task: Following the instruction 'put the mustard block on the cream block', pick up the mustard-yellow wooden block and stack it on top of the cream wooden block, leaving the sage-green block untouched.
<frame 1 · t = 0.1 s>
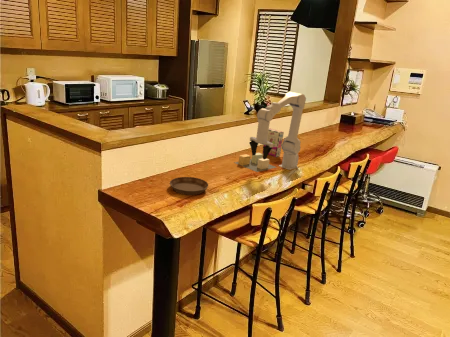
hand: (259, 156, 197), 10 cm above the counter, tool pointing down, fingers open, 7 cm apart
cream block: (262, 167, 211), resting on rubber mat
plant saucer: (188, 189, 170), on the counter
rubber mat: (255, 165, 215), on the counter
candy bar box: (271, 155, 241), on the counter
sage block: (256, 162, 221), resting on rubber mat
mustard block: (243, 163, 215), resting on rubber mat
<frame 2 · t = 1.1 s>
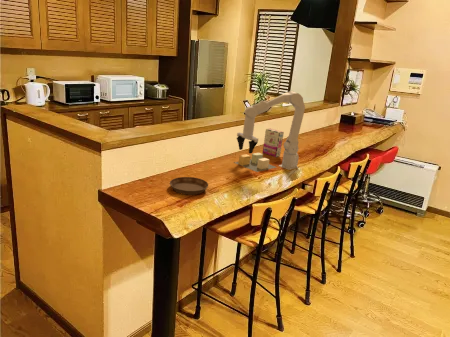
hand: (245, 151, 212), 8 cm above the counter, tool pointing down, fingers open, 7 cm apart
nothing on the counter moved.
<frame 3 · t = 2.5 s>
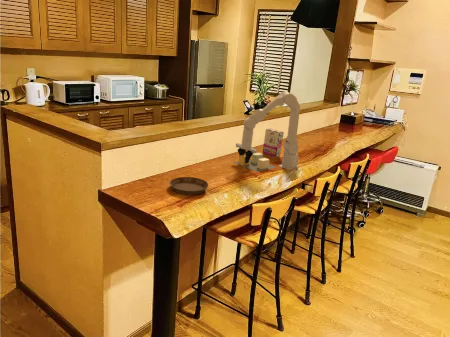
hand: (244, 161, 214), 2 cm above the counter, tool pointing down, fingers closed on mustard block, 3 cm apart
mustard block: (243, 163, 215), resting on rubber mat, touching gripper
everything else where it was.
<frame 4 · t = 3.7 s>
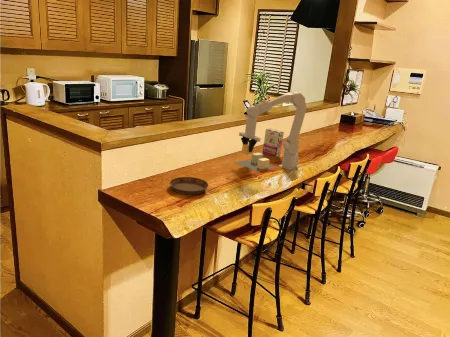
hand: (247, 150, 212), 9 cm above the counter, tool pointing down, fingers closed on mustard block, 3 cm apart
mustard block: (247, 152, 212), point 7 cm above the counter, touching gripper
everything else where it was.
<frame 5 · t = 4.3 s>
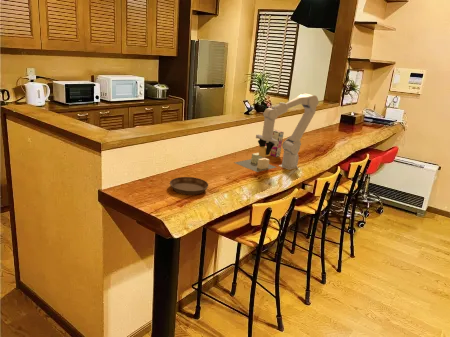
hand: (264, 153, 209), 9 cm above the counter, tool pointing down, fingers closed on mustard block, 3 cm apart
mustard block: (264, 155, 209), point 8 cm above the counter, touching gripper
everything else where it was.
when the fingers open (8 cm above the counter, at t = 5.0 s): mustard block stays where it is, resting on cream block.
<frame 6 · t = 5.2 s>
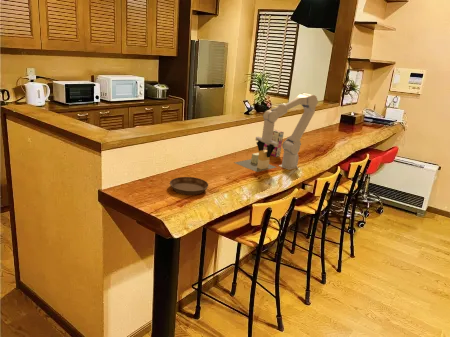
hand: (264, 155, 209), 8 cm above the counter, tool pointing down, fingers open, 5 cm apart
cream block: (262, 167, 211), resting on rubber mat, touching mustard block
mustard block: (263, 159, 210), point 5 cm above the counter, touching cream block
everything else where it was.
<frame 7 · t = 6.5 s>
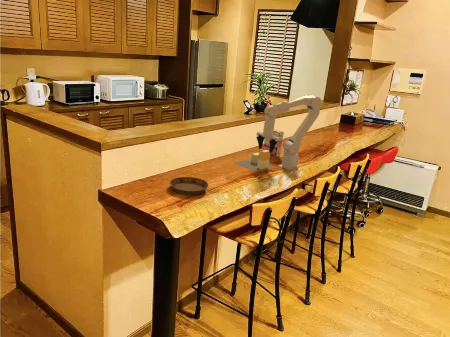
hand: (265, 150, 212), 10 cm above the counter, tool pointing down, fingers open, 7 cm apart
mustard block: (263, 159, 210), point 5 cm above the counter, touching cream block, gripper
everything else where it was.
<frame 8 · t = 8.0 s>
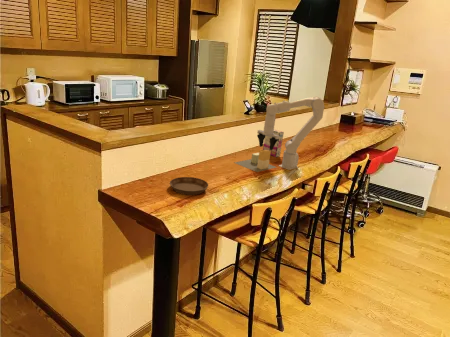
hand: (266, 148, 217), 10 cm above the counter, tool pointing down, fingers open, 7 cm apart
mustard block: (263, 159, 210), point 5 cm above the counter, touching cream block
everything else where it was.
at the end: mustard block 0.2 cm off-centre on the cream block, point 5.0 cm above the cream block's base; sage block moved 0.0 cm from its start; cream block moved 0.0 cm from its start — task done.
